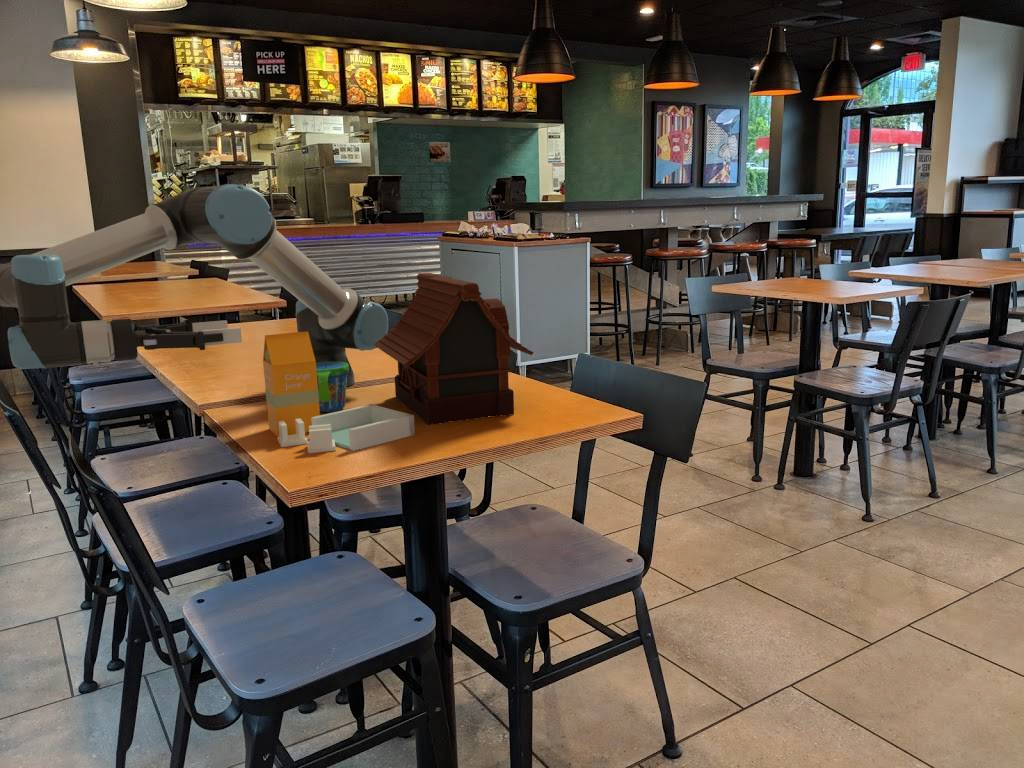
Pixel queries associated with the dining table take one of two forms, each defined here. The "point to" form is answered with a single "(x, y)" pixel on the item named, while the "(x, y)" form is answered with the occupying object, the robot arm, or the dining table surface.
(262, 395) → the dining table surface
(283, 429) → the clip
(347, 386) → the robot arm
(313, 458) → the dining table surface
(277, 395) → the orange juice
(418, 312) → the house
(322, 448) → the white upright piece
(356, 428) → the tray
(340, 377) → the snack cup
